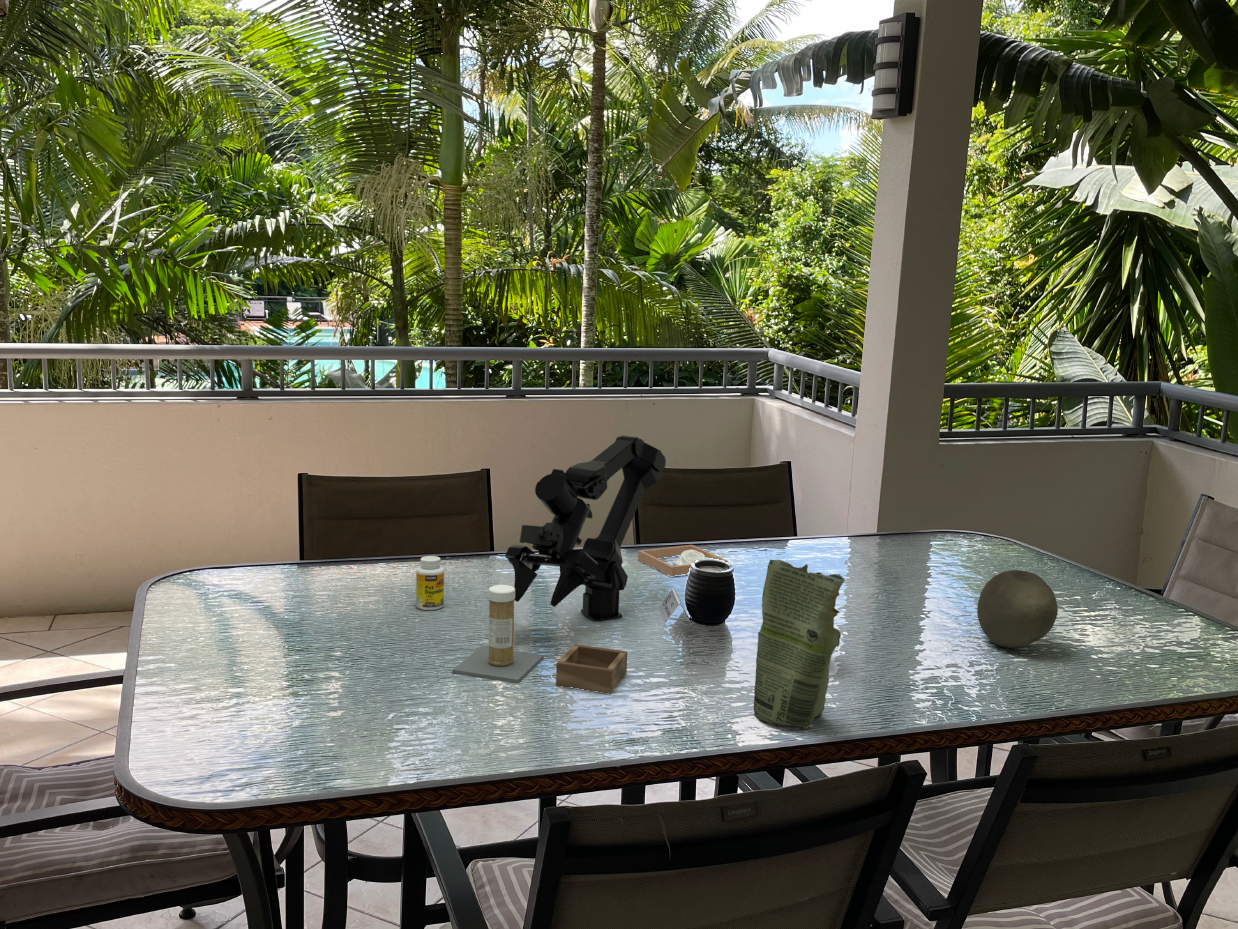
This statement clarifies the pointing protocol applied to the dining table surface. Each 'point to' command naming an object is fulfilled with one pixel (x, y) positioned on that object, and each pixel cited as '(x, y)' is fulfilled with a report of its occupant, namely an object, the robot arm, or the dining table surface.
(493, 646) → the sprinkles bottle
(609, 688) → the walnut sleeve
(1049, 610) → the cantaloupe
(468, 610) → the dining table surface
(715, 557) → the wooden square frame
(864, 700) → the dining table surface
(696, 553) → the rose
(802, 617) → the pouch
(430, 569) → the supplement bottle
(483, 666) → the grey mat
